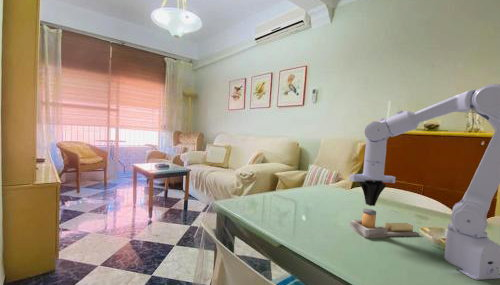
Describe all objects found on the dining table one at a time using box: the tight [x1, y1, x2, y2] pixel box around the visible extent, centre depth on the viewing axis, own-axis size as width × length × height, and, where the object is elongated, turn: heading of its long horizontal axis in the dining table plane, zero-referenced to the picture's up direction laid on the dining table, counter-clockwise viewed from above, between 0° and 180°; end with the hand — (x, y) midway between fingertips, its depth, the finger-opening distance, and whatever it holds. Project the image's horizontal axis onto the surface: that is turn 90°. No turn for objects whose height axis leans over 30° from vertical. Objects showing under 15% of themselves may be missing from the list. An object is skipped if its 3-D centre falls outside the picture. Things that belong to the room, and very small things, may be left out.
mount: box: [349, 219, 423, 239], centre depth 75 cm, size 8×21×3 cm, turn 101°
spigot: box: [361, 208, 377, 228], centre depth 73 cm, size 4×4×7 cm
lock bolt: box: [384, 222, 414, 232], centre depth 76 cm, size 2×8×2 cm, turn 101°
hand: (370, 204), depth 73 cm, fingers closed
